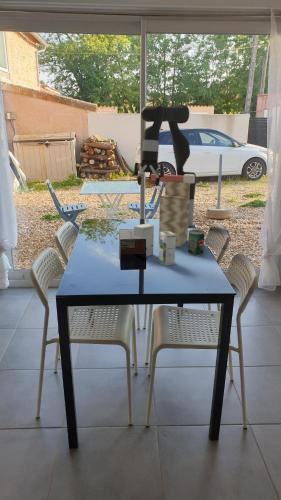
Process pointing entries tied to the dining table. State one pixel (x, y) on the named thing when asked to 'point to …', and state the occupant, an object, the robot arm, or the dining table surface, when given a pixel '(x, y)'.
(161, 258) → the syrup box
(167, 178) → the block
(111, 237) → the dining table surface
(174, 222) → the stand
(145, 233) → the skincare box
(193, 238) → the canned tomato
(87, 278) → the dining table surface
